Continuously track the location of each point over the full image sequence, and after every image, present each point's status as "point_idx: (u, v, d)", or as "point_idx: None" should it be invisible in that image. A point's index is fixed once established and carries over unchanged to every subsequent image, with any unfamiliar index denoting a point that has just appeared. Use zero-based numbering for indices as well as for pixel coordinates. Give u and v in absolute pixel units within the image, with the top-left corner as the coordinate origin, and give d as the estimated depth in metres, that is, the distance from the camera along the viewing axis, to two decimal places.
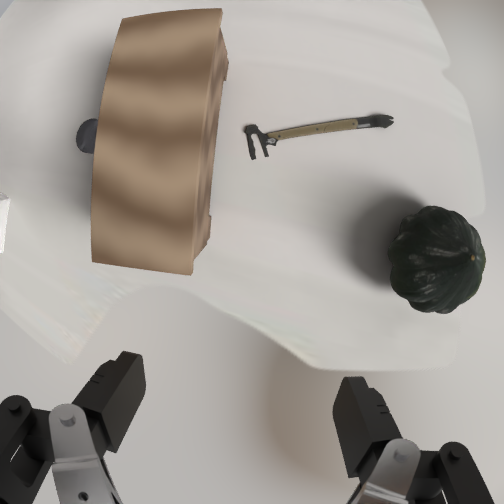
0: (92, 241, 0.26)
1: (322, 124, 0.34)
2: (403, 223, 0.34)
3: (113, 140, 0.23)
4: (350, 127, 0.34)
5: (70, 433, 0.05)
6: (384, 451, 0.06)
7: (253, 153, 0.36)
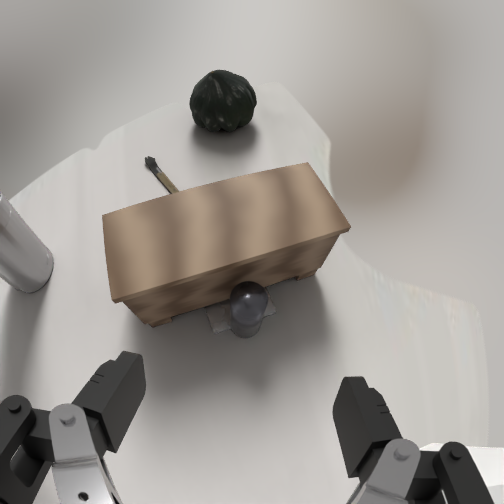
0: (334, 230, 0.31)
1: (169, 188, 0.49)
2: (212, 124, 0.54)
3: (243, 240, 0.30)
4: (164, 174, 0.51)
5: (70, 433, 0.05)
6: (384, 451, 0.06)
7: None
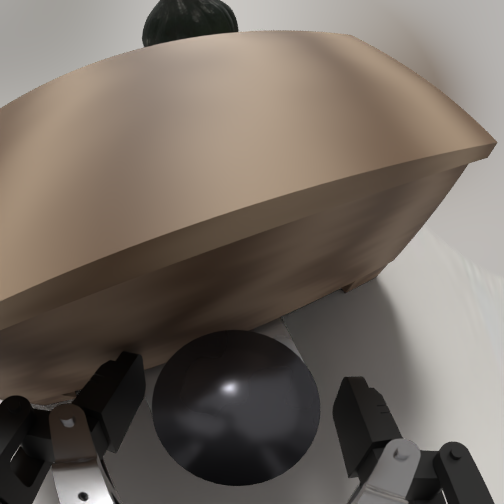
0: (478, 142, 0.08)
1: None
2: None
3: (191, 142, 0.06)
4: None
5: (70, 433, 0.05)
6: (384, 451, 0.06)
7: None
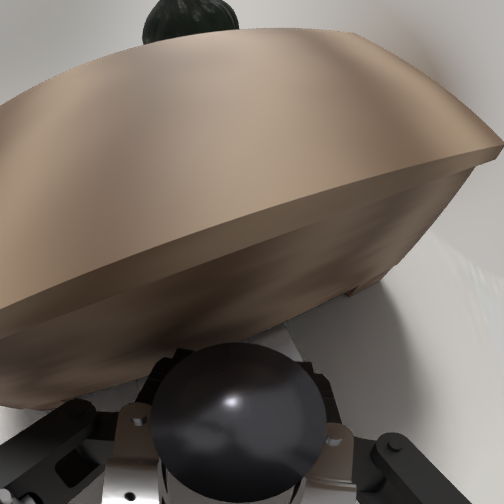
0: (488, 143, 0.07)
1: None
2: None
3: (190, 142, 0.05)
4: None
5: (138, 432, 0.06)
6: None
7: None
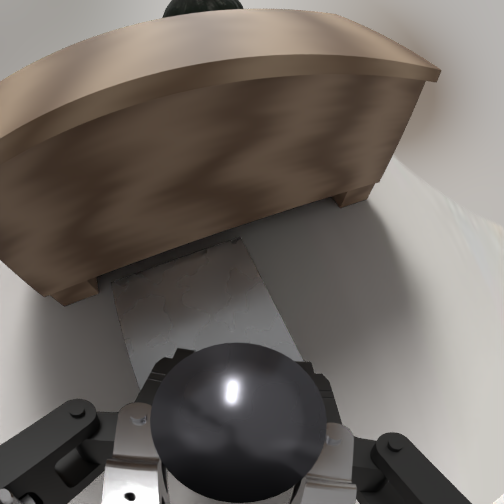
0: (421, 64, 0.11)
1: None
2: None
3: (237, 41, 0.09)
4: None
5: (138, 432, 0.06)
6: None
7: None
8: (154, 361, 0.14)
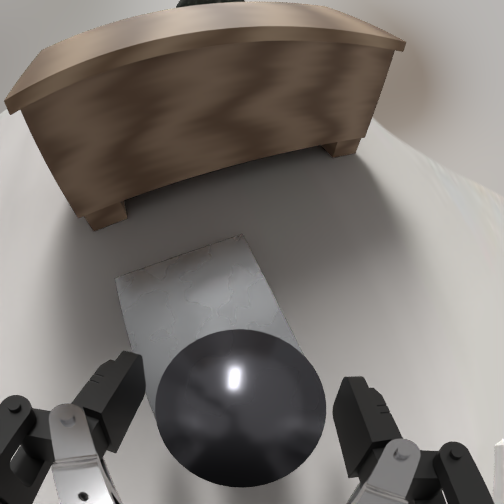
0: (387, 37, 0.15)
1: None
2: None
3: (252, 19, 0.13)
4: None
5: (70, 433, 0.05)
6: (384, 451, 0.06)
7: None
8: (157, 355, 0.15)
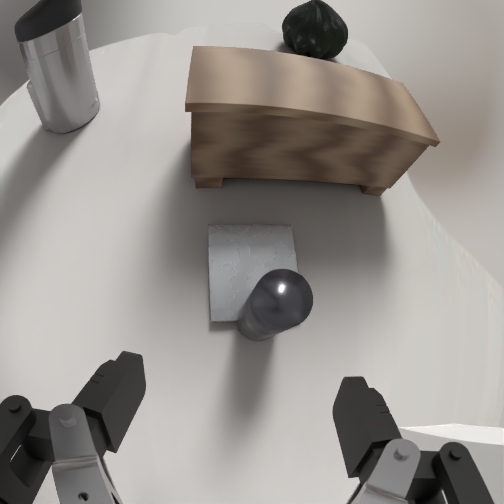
0: (427, 136, 0.25)
1: None
2: (301, 44, 0.45)
3: (345, 103, 0.24)
4: None
5: (70, 433, 0.05)
6: (384, 451, 0.06)
7: None
8: (223, 276, 0.28)
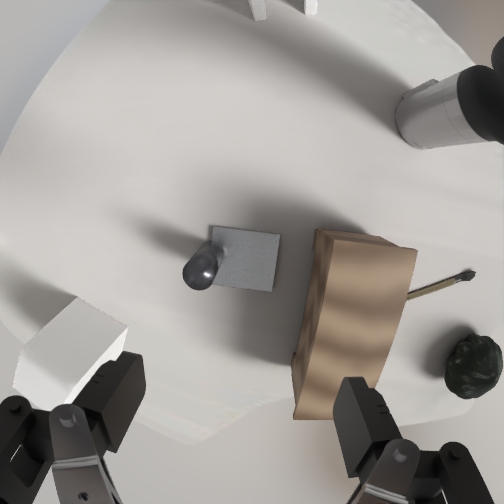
0: (297, 410, 0.36)
1: (435, 286, 0.44)
2: (460, 349, 0.44)
3: (327, 355, 0.34)
4: (450, 284, 0.44)
5: (70, 433, 0.05)
6: (384, 451, 0.06)
7: None
8: (240, 239, 0.43)
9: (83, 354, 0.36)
